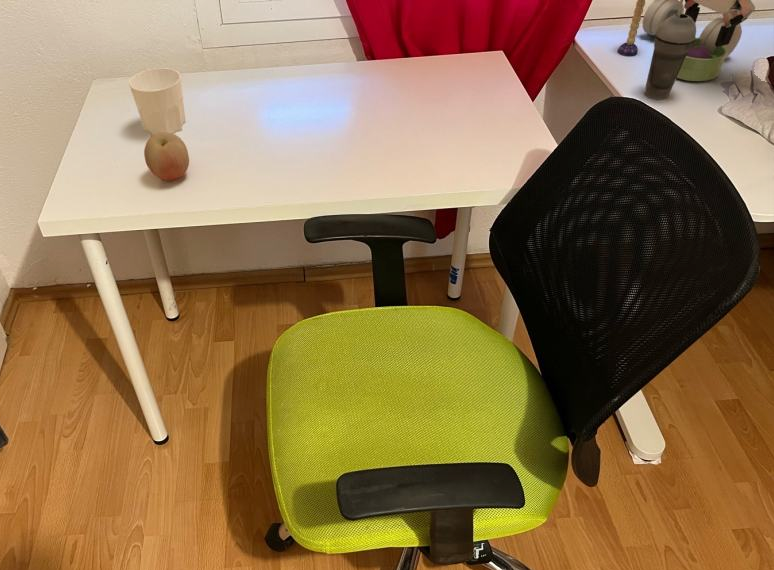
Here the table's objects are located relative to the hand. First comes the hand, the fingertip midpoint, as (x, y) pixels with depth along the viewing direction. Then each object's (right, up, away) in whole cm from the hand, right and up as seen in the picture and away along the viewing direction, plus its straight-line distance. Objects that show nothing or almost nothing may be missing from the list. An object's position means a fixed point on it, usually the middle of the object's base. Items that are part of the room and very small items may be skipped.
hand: (703, 36), depth 141 cm
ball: (0, -3, +3) cm, 5 cm away
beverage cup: (-10, -12, -1) cm, 16 cm away
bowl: (0, -5, +5) cm, 8 cm away
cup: (-111, -19, 0) cm, 113 cm away
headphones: (+3, +4, +14) cm, 14 cm away
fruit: (-107, -32, -14) cm, 113 cm away
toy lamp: (-9, +3, +14) cm, 17 cm away
